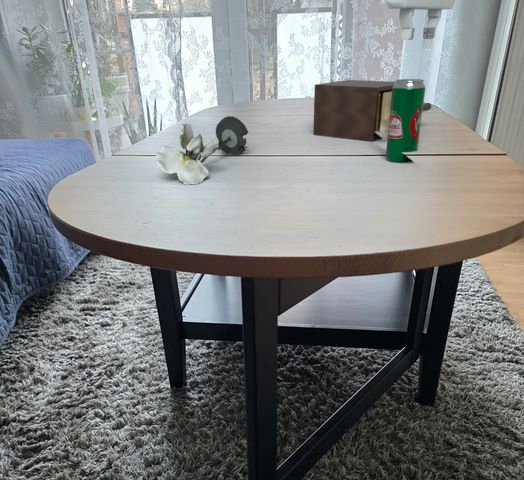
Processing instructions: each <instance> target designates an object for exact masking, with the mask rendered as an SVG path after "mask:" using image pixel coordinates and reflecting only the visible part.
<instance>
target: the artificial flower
mask: <svg viewBox="0 0 524 480" xmlns="http://www.w3.org/2000/svg"><path fill="white" fill-rule="evenodd" d="M248 134H249V130H248V128H247V127H246V125H245V123H243V122H242V121H241V120H240V119H239V118H238V117H235V116H230V115H228V116H225V117H223V118H222V119H221V120H220V121H218V123H217V125H216V126H215V137H216V138H214V139H212V140H211V141H210V142H208V143H207V144H205V145H204V141H203V136H202V134H201V133H199V134H197V136H194V131H193V128H192V125H191V123H182V124H181V127H180V132H179V137H178V140H179V144H180V147H181V148H182V149H183V150H185V152H184V151H181V150H178V149H177V148H176V147H173V146H169V145H164V146H161V148H160V150H159V151H158V152H157V153H155V162H156V164H157V165H158V167H159V168H160V170H162V172H164V173H166V174H170V175H171V174H176V175H177V178H178V180H179V181H181V182H183V185H187V186H189V185H198V184H201V183H203V181H204V180H205V179H206V178H207V177H209V176H210V175H209V170H208V168H207V167H206V166H205V165H204V164H203V163H204V162H205V161H206V160H207V159H208V158H209V157H210V156H212V155H213V154H215V153H216V152H217V151H218V150H219V151H222V152H223V153H224V154H227V155H229V154H231V155H237V156H238V155H242V154H244V152H246V150H247V149H248V146H249V143H247V138H246V137H245V136H247V135H248ZM246 145H247V146H246Z"/></svg>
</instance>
